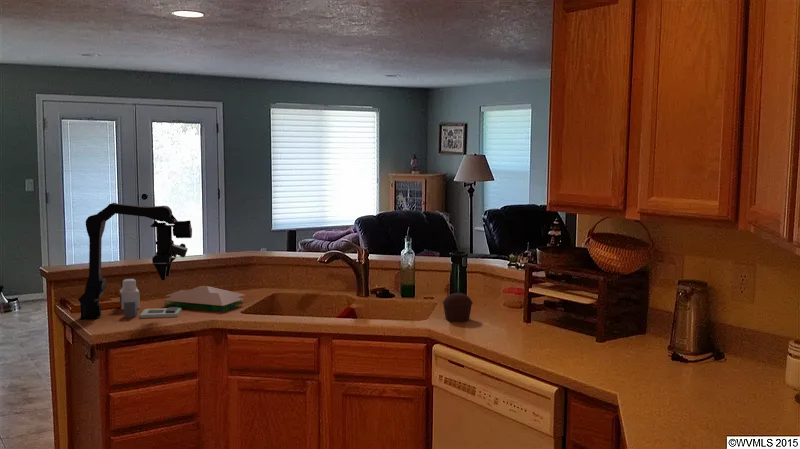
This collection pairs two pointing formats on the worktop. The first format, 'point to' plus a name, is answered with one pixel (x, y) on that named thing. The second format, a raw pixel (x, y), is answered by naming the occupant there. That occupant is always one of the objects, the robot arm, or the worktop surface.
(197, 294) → the house
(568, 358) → the worktop surface
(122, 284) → the medicine bottle
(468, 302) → the muffin
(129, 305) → the block
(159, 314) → the plate
